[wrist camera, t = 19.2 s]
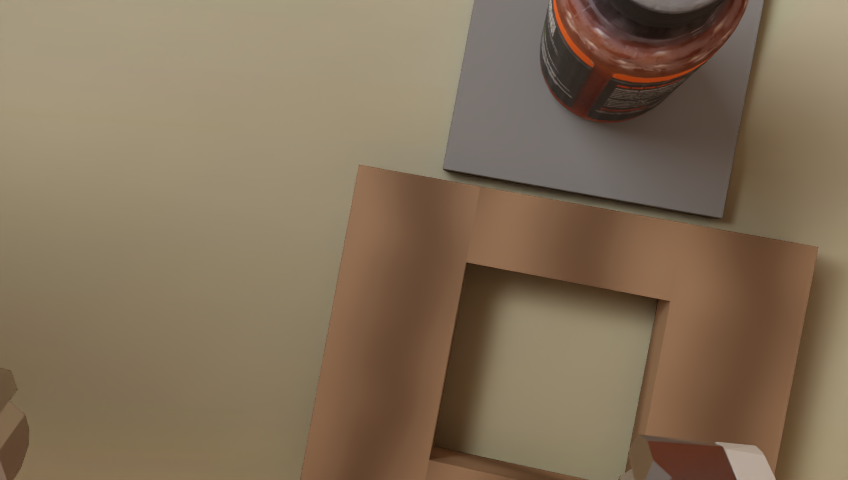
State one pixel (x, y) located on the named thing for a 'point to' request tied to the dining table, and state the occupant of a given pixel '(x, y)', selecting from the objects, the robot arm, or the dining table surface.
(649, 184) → the slate-grey rubber mat
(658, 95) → the supplement bottle
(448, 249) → the walnut dock board
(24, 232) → the dining table surface
